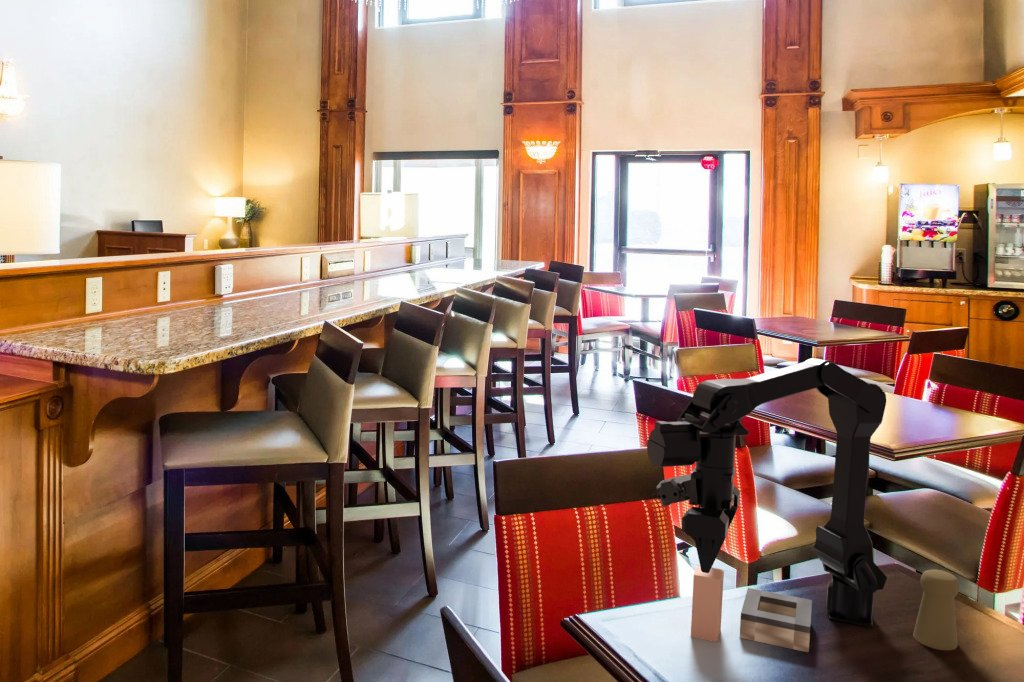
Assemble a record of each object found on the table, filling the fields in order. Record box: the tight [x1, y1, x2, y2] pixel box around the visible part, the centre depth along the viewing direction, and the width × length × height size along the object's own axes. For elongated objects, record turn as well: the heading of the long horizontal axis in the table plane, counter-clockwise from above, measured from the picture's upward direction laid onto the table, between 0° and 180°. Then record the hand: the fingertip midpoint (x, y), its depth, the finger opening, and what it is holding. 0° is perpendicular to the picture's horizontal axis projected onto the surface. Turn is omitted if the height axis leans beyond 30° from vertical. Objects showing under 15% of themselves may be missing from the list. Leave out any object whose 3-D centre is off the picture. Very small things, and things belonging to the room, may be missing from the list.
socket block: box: [739, 587, 813, 653], centre depth 115 cm, size 10×10×4 cm
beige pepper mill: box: [912, 569, 960, 651], centre depth 112 cm, size 6×6×11 cm
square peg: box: [690, 564, 725, 643], centre depth 113 cm, size 4×4×10 cm
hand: (710, 561), depth 112 cm, fingers open, 9 cm apart
